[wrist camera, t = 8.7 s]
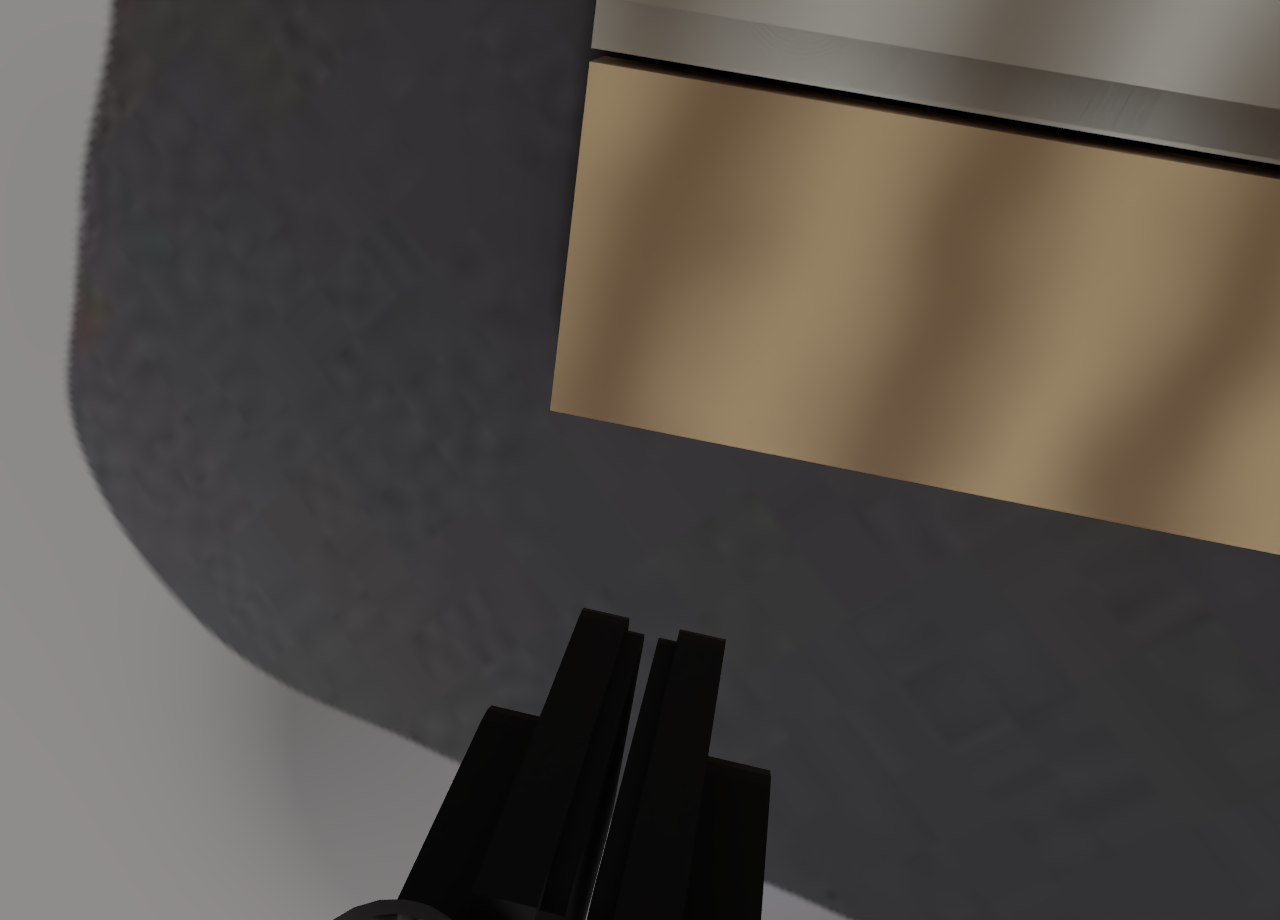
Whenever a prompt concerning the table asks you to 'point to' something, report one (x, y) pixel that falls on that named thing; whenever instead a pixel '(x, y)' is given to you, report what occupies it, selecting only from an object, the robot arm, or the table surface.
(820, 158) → the oak plank
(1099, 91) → the laid plank
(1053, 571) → the table surface
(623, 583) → the table surface
